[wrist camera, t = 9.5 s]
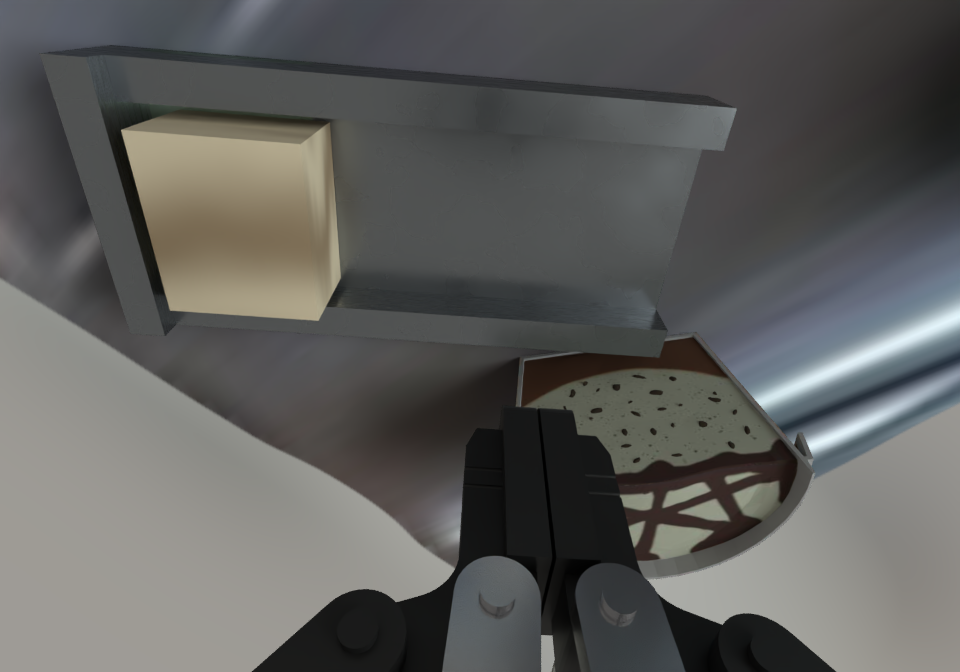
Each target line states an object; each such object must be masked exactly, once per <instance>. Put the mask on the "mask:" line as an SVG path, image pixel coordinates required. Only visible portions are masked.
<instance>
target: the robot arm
mask: <svg viewBox="0 0 960 672" xmlns="http://www.w3.org/2000/svg"><path fill="white" fill-rule="evenodd" d="M541 635H553V645H554V656H555V661H554V665H553V668H552V672H836V671H835V670H834V669H832V668H831V667H830V666H829V665H828V664H827V663H825V662H824V661H823V660H822V659H821V658H820V657H818V656H817V655H816V654H815V653H814V652H812V651H811V650H810V649H809V648H808V647H807V646H805V645H804V644H803V643H802V642H801V641H800V640H799V639H797V638H796V637H795V636H794V635H793V634H792V633H790V632H789V631H788V630H786V629H785V628H784V627H783V626H781V625H779V624H778V623H776V622H774V621H772V620H770V619H768V618H766V617H763V616H760V615H755V614H738V615H735V616H732V617H730V618H729V619H728V620H726V621H725V623H724V624H723V625H721V624H718V623H716V622H713V621H710V620H708V619H705V618H703V617H700V616H698V615H695V614H692V613H690V612H687V611H684V610H682V609H680V608H677V607H676V606H674V605H672V604H670V603H669V602H667V601H666V600H665V599H663V598H662V597H661V596H660V595H658V594H657V592H656V591H655V589H654V587H653V586H652V585H651V584H650V583H649V581H647V580H646V579H645V578H644V576H643V575H642V572H641V570H640V568H639V565H638V562H637V558H636V554H635V550H634V546H633V542H632V538H631V534H630V530H629V526H628V522H627V518H626V514H625V510H624V506H623V502H622V498H621V497H620V490H619V486H618V482H617V480H616V475H615V471H614V467H613V463H612V459H611V455H610V453H609V452H608V451H607V449H606V448H605V447H604V446H603V444H602V443H601V442H600V440H599V439H598V438H597V436H589V435H578V433H577V427H576V422H575V417H574V413H573V411H572V410H564V409H549V408H538V409H536V408H532V407H516V406H502V410H501V418H500V427H499V430H495V429H479V428H477V429H476V431H475V433H474V434H473V436H472V437H471V439H470V440H469V442H468V444H467V445H466V456H465V469H464V483H463V496H462V513H461V530H460V546H459V560H458V563H457V566H456V568H455V570H454V572H453V573H452V575H451V576H450V577H449V579H448V580H447V581H446V582H445V583H444V584H442V585H441V586H440V587H438V588H437V589H435V590H433V591H432V592H430V593H427V594H424V595H421V596H418V597H414V598H411V599H407V600H404V601H400V602H395V601H394V600H393V599H392V598H390V597H389V596H388V595H386V594H384V593H382V592H379V591H375V590H369V589H363V590H355V591H351V592H348V593H345V594H343V595H341V596H339V597H337V598H335V599H334V600H333V601H332V602H330V603H329V604H328V605H327V606H326V607H324V608H323V609H322V610H321V611H320V612H319V613H318V614H317V615H316V616H314V617H313V618H312V619H311V620H310V621H309V622H308V623H306V624H305V625H304V626H303V627H302V628H301V629H300V630H298V631H297V632H296V633H295V634H294V635H293V636H292V637H291V638H289V639H288V640H287V641H286V642H285V643H284V644H283V645H282V646H280V647H279V648H278V649H277V650H276V651H275V652H274V653H272V654H271V655H270V656H269V657H268V658H267V659H266V660H265V661H263V663H261V664H260V665H259V666H258V667H257V668H256V669H254V670H253V671H252V672H541Z"/></svg>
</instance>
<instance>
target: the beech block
mask: <svg viewBox="0 0 960 672" xmlns="http://www.w3.org/2000/svg"><path fill="white" fill-rule="evenodd" d="M121 131H122V135H123V139H124V143H125V146H126V150H127V154H128V157H129V161H130V165H131V168H132V172H133V176H134V180H135V183H136V187H137V191H138V194H139V198H140V202H141V205H142V209H143V213H144V216H145V220H146V224H147V228H148V231H149V235H150V239H151V242H152V246H153V250H154V253H155V257H156V261H157V264H158V268H159V272H160V276H161V279H162V283H163V287H164V290H165V294H166V298H167V301H168V305H169V309H170V311H185V312H199V313H213V314H228V315H242V316H257V317H271V318H286V319H300V320H314V321H319V319H320V317H321V315H322V313H323V311H324V309H325V307H326V305H327V303H328V302H329V300H330V298H331V296H332V294H333V292H334V290H335V288H336V286H337V284H338V283H339V281H340V279H341V272H340V258H339V244H338V230H337V215H336V201H335V187H334V173H333V159H332V145H331V131H330V122H326V121H313V120H301V119H289V118H277V117H264V116H252V115H240V114H228V113H215V112H203V111H191V110H176V111H174V112H171V113H168V114H165V115H162V116H159V117H156V118H154V119H151V120H148V121H145V122H142V123H139V124H136V125H133V126H131V127H128V128H125V129H122V130H121Z"/></svg>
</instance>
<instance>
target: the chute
mask: <svg viewBox="0 0 960 672" xmlns="http://www.w3.org/2000/svg"><path fill="white" fill-rule="evenodd" d="M39 54H40V57H41V60H42V63H43V66H44V69H45V72H46V75H47V78H48V81H49V85H50V88H51V91H52V94H53V97H54V100H55V103H56V106H57V109H58V112H59V115H60V118H61V121H62V125H63V128H64V131H65V134H66V137H67V140H68V143H69V146H70V149H71V152H72V155H73V158H74V161H75V165H76V168H77V171H78V174H79V177H80V180H81V183H82V186H83V189H84V192H85V195H86V198H87V201H88V205H89V208H90V211H91V214H92V217H93V220H94V223H95V226H96V229H97V232H98V235H99V238H100V242H101V245H102V248H103V251H104V254H105V257H106V260H107V263H108V266H109V269H110V272H111V275H112V278H113V282H114V285H115V288H116V291H117V294H118V297H119V300H120V303H121V306H122V309H123V312H124V315H125V318H126V322H127V325H128V328H129V331H130V334H140V335H155V336H166V335H167V334H168V333H169V331H170V330H171V329H172V328H173V327H174V326H175V325H190V326H204V327H219V328H234V329H248V330H263V331H278V332H292V333H307V334H321V335H336V336H351V337H365V338H380V339H394V340H409V341H424V342H438V343H453V344H468V345H482V346H497V347H511V348H526V349H541V350H555V351H570V352H584V353H599V354H614V355H628V356H643V357H657V358H659V357H660V354H661V351H662V348H663V344H664V341H665V338H666V335H667V331H668V330H667V328H666V327H665V325H664V323H663V321H662V319H661V318H660V316H659V314H658V312H657V310H656V307H657V304H658V300H659V297H660V293H661V290H662V286H663V283H664V279H665V276H666V273H667V269H668V266H669V262H670V259H671V255H672V252H673V248H674V245H675V242H676V238H677V235H678V231H679V228H680V224H681V221H682V217H683V214H684V210H685V207H686V204H687V200H688V197H689V193H690V190H691V186H692V183H693V179H694V176H695V173H696V169H697V166H698V162H699V159H700V155H701V152H702V149H706V150H719V151H724V148H725V145H726V142H727V139H728V135H729V132H730V129H731V126H732V123H733V119H734V116H735V113H736V110H737V108H735V107H733V106H730V105H728V104H725V103H723V102H721V101H718V100H716V99H713V98H711V97H709V96H701V95H690V94H678V93H666V92H655V91H643V90H631V89H619V88H608V87H596V86H584V85H572V84H561V83H549V82H537V81H525V80H514V79H502V78H490V77H478V76H467V75H455V74H443V73H431V72H420V71H408V70H396V69H385V68H373V67H361V66H349V65H338V64H326V63H314V62H302V61H291V60H279V59H267V58H255V57H244V56H232V55H220V54H208V53H197V52H185V51H173V50H161V49H150V48H138V47H126V46H114V45H109V46H100V47H92V48H83V49H74V50H65V51H56V52H48V53H39ZM176 110H191V111H203V112H215V113H228V114H240V115H252V116H264V117H277V118H289V119H301V120H313V121H326V122H330V131H331V145H332V159H333V173H334V187H335V201H336V215H337V230H338V244H339V258H340V272H341V279H340V281H339V283H338V284H337V286H336V288H335V290H334V292H333V294H332V296H331V298H330V300H329V302H328V303H327V305H326V307H325V309H324V311H323V313H322V315H321V317H320V319H319V321H314V320H300V319H286V318H271V317H257V316H242V315H228V314H213V313H199V312H185V311H170V309H169V305H168V301H167V298H166V294H165V290H164V287H163V283H162V279H161V276H160V272H159V268H158V264H157V261H156V257H155V253H154V250H153V246H152V242H151V239H150V235H149V231H148V228H147V224H146V220H145V216H144V213H143V209H142V205H141V202H140V198H139V194H138V191H137V187H136V183H135V180H134V176H133V172H132V168H131V165H130V161H129V157H128V154H127V150H126V146H125V143H124V139H123V135H122V131H121V130H122V129H125V128H128V127H131V126H133V125H136V124H139V123H142V122H145V121H148V120H151V119H154V118H156V117H159V116H162V115H165V114H168V113H171V112H174V111H176Z"/></svg>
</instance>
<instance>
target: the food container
mask: <svg viewBox="0 0 960 672" xmlns="http://www.w3.org/2000/svg"><path fill="white" fill-rule="evenodd" d="M516 407H532V408H536V409H538V408H549V409H564V410H572V411H573V413H574V417H575V422H576V427H577V433H578V435H589V436H597V438H598V439H599V440H600V442H601V443H602V444H603V446H604V447H605V448H606V449H607V451H608V452H609V453H610V455H611V459H612V463H613V467H614V471H615V475H616V480H617V482H618V486H619V490H620V497H621V498H622V502H623V506H624V510H625V514H626V518H627V522H628V526H629V530H630V534H631V538H632V542H633V546H634V550H635V554H636V558H637V562H638V565H639V568H640V570H641V572H642V575H643V576H644V578H645V579H660V578H667V577H674V576H681V575H685V574H689V573H693V572H697V571H701V570H704V569H707V568H710V567H713V566H716V565H719V564H722V563H724V562H726V561H728V560H731V559H733V558H735V557H737V556H740V555H741V554H743V553H745V552H747V551H748V550H750V549H752V548H754V547H755V546H757V545H759V544H760V543H761V542H763V541H764V540H766V539H767V538H768V537H769V536H771V535H772V534H774V533H775V532H776V531H777V530H778V529H779V528H780V527H781V526H782V525H784V524H785V523H786V522H787V521H788V520H789V519H790V518H791V516H792V515H793V514H794V512H795V511H796V510H797V509H798V508H799V506H800V505H801V503H802V501H803V500H804V498H805V496H806V494H807V493H808V491H809V489H810V487H811V484H812V481H813V478H814V475H815V472H814V470H813V468H812V467H811V465H812V462H813V457H812V454H811V452H810V450H809V447H808V445H807V442H806V440H805V438H804V435H803V433H798V434H797V437H796V441H795V444H794V445H793V443H792V442H791V441H790V440H789V439H788V438H787V436H786V435H785V434H784V433H783V432H782V431H781V430H780V428H779V427H778V426H777V425H776V424H775V423H774V421H773V420H772V419H771V418H770V417H769V416H768V415H767V413H766V412H765V411H764V410H763V409H762V408H761V406H760V405H759V404H758V403H757V402H756V401H755V400H754V398H753V397H752V396H751V395H750V394H749V393H748V391H747V390H746V389H745V388H744V387H743V386H742V385H741V383H740V382H739V381H738V380H737V379H736V378H735V376H734V375H733V374H732V373H731V372H730V371H729V369H728V368H727V367H726V366H725V365H724V364H723V363H722V361H721V360H720V359H719V358H718V357H717V356H716V354H715V353H714V352H713V351H712V350H711V349H710V348H709V346H708V345H707V344H706V343H705V342H704V341H703V339H702V338H701V337H700V336H699V335H698V334H697V333H696V332H694V333H687V334H679V335H672V336H666V338H665V341H664V344H663V348H662V351H661V354H660V357H659V358H657V357H643V356H628V355H614V354H599V353H584V352H570V351H559V352H552V353H544V354H537V355H530V356H523V357H520V362H519V373H518V385H517V397H516Z"/></svg>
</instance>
